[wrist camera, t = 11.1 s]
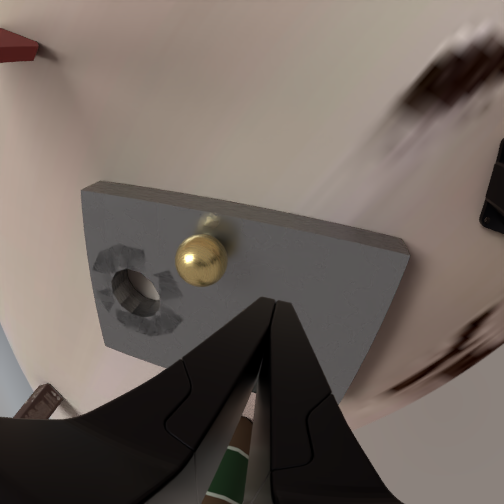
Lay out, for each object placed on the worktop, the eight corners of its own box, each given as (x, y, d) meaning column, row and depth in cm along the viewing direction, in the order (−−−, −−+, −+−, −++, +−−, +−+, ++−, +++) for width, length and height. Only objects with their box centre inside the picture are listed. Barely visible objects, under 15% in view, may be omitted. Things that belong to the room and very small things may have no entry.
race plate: (401, 238, 20) (410, 255, 18) (337, 387, 27) (336, 407, 25) (100, 180, 22) (80, 190, 20) (117, 330, 30) (105, 345, 28)
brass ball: (236, 231, 19) (221, 255, 16) (231, 275, 21) (216, 303, 18) (187, 221, 20) (165, 242, 17) (186, 264, 21) (166, 289, 18)
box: (47, 381, 42) (12, 427, 32) (64, 398, 44) (32, 445, 33) (37, 383, 45) (5, 425, 34) (53, 400, 46) (23, 442, 36)
